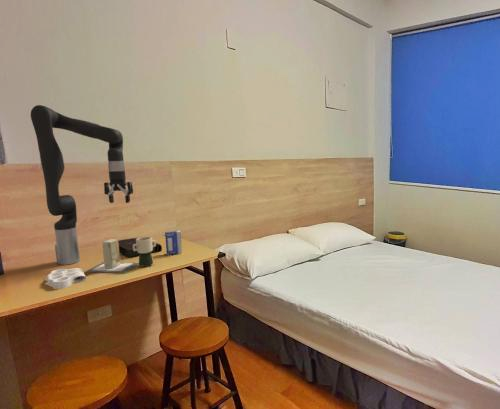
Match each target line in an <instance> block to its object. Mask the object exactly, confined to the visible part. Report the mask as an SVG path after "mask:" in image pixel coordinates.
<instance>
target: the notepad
mask: <svg viewBox="0 0 500 409" xmlns="http://www.w3.org/2000/svg"><path fill="white" fill-rule="evenodd" d="M138 265H139V262H121V261H120V265H118V266H116V267H115V268H105V266H104V261H103V262H101V263H98V264H97V265H95V266H94V267H92V268H90V269H88V270H85V273H98V274H99V273H100V274H101V273H103V274H126V273H128V272H129V271H131V270H132V269H134V268H135V267H137V266H138Z"/></svg>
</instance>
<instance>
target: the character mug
mask: <svg viewBox="0 0 500 409" xmlns="http://www.w3.org/2000/svg"><path fill="white" fill-rule="evenodd" d="M139 237H140V238H138V237H136V238H137V239H136V244H133V251H137V252H138V253H140V255H139V257H138V263H139V264H138V265H139V266H141V267H148V266H151V265H153V264H154V260H153V256H152V253H150V252H151V251H152V250H153V247H155V246H156V243H157V242H156V240H155V239H153V237H152V236H139ZM152 242H154V245H152ZM135 246H136V247H137V249H135Z"/></svg>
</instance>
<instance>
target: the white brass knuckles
mask: <svg viewBox="0 0 500 409" xmlns="http://www.w3.org/2000/svg"><path fill="white" fill-rule="evenodd" d="M86 276H87V275H85V272H84V271H83V269H82V268H79V267H77V268H68V269H67V268H58V269H54V270H51V271H50V273H49V274H48V275H46V278H45V279H43V280H44V281H45V283H44V285H46V286H48V287H50V288H51V287H52V288H53V290H61V289H62V290H63V289H65V288H69V287H70V286H71V285H73V284H76V283H81V282H84V281H85V280H86V279H87V277H86Z"/></svg>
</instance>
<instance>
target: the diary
mask: <svg viewBox="0 0 500 409" xmlns="http://www.w3.org/2000/svg"><path fill="white" fill-rule="evenodd" d="M140 237H141V236H138V237H132V238H124V239H118V243H119V254H121V255H122V256H125V257H126V258H128V259H134V258H139V255H140V253H138V252H137V251H133V244H136V239H137V238H140ZM152 245H154V242H152ZM135 249H137V247H136V246H135ZM162 250H163V247H162V244H160V243H158V242H156V246H155V247H153V250H152V251H151V252H150V253H151V254H153V253H158V252H162Z"/></svg>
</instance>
